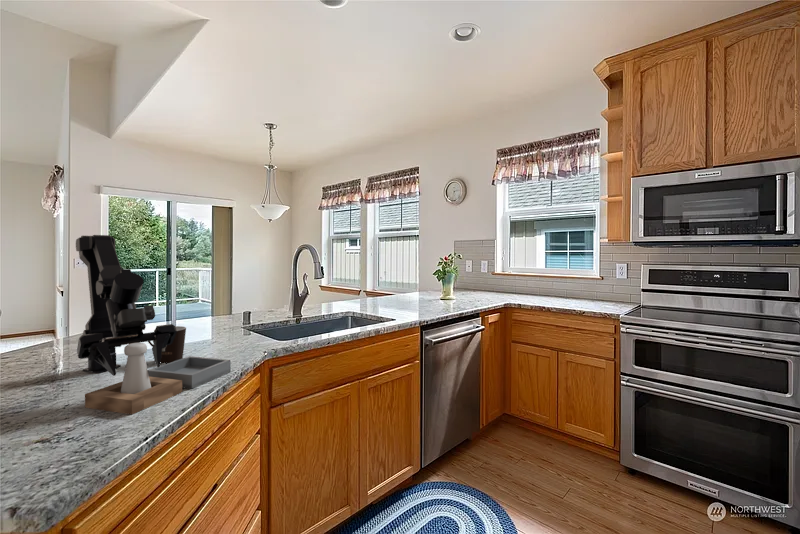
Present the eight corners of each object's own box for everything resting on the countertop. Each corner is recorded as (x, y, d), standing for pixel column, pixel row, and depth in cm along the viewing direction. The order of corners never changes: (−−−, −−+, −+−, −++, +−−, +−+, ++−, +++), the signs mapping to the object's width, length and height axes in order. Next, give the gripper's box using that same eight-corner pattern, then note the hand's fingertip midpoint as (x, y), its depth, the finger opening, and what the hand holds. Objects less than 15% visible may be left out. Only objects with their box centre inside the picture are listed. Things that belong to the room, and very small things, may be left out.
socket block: (85, 407, 82) (84, 394, 82) (139, 387, 95) (139, 375, 95) (132, 414, 79) (131, 400, 79) (182, 392, 92) (182, 380, 91)
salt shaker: (135, 405, 83) (134, 347, 83) (114, 403, 85) (113, 346, 84) (157, 396, 89) (156, 341, 89) (137, 394, 90) (136, 340, 90)
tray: (147, 383, 97) (146, 370, 97) (189, 367, 111) (189, 356, 111) (192, 389, 94) (191, 375, 94) (230, 372, 107) (230, 359, 107)
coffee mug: (192, 359, 120) (191, 328, 119) (163, 366, 112) (162, 333, 112) (173, 354, 126) (172, 324, 125) (144, 360, 118) (143, 328, 118)
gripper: (78, 298, 82) (89, 358, 75) (173, 292, 96) (190, 342, 89) (72, 329, 87) (82, 388, 80) (163, 319, 101) (179, 368, 94)
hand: (137, 370), depth 86 cm, fingers open, 8 cm apart
